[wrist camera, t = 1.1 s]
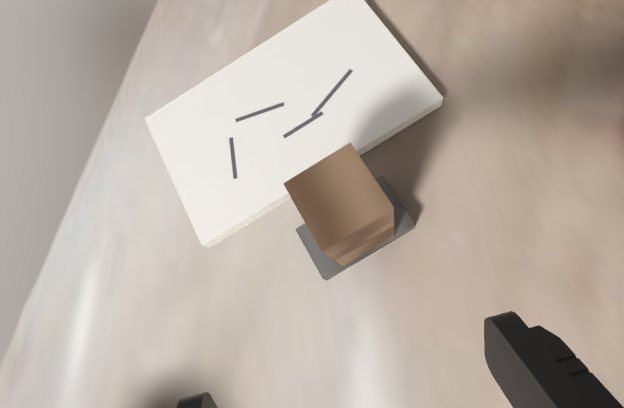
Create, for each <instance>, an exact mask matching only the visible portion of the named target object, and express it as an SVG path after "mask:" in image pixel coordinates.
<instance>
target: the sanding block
mask: <svg viewBox="0 0 624 408" xmlns="http://www.w3.org/2000/svg"><path fill="white" fill-rule="evenodd" d="M283 184H284V186H285V188H286V189H287V191H288V193H289V195H290V196H291V198H292V200H293V202H294V204H295V205H296V207H297V209H298V211H299V212H300V214H301V216H302V218H303V219H304V221H305V224H303V225H302V226H300V227H298V228H297V229H296V231H297V233H298V235H299V237H300V238H301V240H302V242H303V244H304V246H305V247H306V249H307V251H308V253H309V255H310V256H311V258H312V260H313V262H314V264H315V265H316V267H317V269H318V271H319V273H320V274H321V276H322V278H323V279H325V280H328V279H330V278H332V277H333V276H335V275H337V274H338V273H340V272H342V271H343V270H345V269H347V268H348V267H350V266H352V265H354V264H355V263H357V262H359V261H360V260H362V259H364V258H365V257H367V256H369V255H370V254H372V253H374V252H375V251H377V250H379V249H380V248H382V247H384V246H385V245H387V244H389V243H390V242H392V241H394V240H395V239H397V238H399V237H400V236H402V235H404V234H405V233H407V232H409V231H410V230H412V229H414V227H415V223H414V221H413V220H412V218H411V217H410V215H409V214H408V212H407V211H406V209H405V208H404V206H403V205H402V204H401V202H400V201H399V199H398V198H397V196H396V195H395V193H394V192H393V190H392V189H391V187H390V186H389V184H388V183H387V181H386V180H385V178H384V177H383V176H382V177H381V178H379V179H377V180H375V178H374V177H373V175H372V174H371V172H370V171H369V169H368V168H367V166H366V165H365V163H364V162H363V160H362V159H361V157H360V156H359V154H358V153H357V151H356V150H355V148H354V147H353V145H352V144H351V142H350V143H348V144H347V145H345V146H343V147H342V148H340V149H338V150H337V151H335V152H334V153H332V154H330V155H329V156H327V157H325V158H324V159H322V160H321V161H319V162H317V163H316V164H314V165H312V166H311V167H309V168H308V169H306V170H304V171H303V172H301V173H299V174H298V175H296V176H295V177H293V178H291V179H290V180H288V181H286V182H285V183H283Z"/></svg>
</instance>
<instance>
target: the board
mask: <svg viewBox="0 0 624 408" xmlns="http://www.w3.org/2000/svg"><path fill="white" fill-rule="evenodd" d="M442 101H443V97H442V96H441V94H440V93H439V92H438V91H437V89H436V88H435V87H434V86H433V84H432V83H431V82H430V81H429V80H428V78H427V77H426V76H425V75H424V73H423V72H422V71H421V70H420V68H419V67H418V66H417V65H416V63H415V62H414V61H413V60H412V59H411V57H410V56H409V55H408V54H407V52H406V51H405V50H404V49H403V47H402V46H401V45H400V44H399V43H398V41H397V40H396V39H395V38H394V36H393V35H392V34H391V33H390V31H389V30H388V29H387V28H386V26H385V25H384V24H383V23H382V22H381V20H380V19H379V18H378V17H377V15H376V14H375V13H374V12H373V10H372V9H371V8H370V7H369V5H368V4H367V3H366V2H365V1H364V0H329V1H328V2H326V3H325V4H323V5H321V6H320V7H318V8H317V9H315V10H314V11H312V12H310V13H309V14H307V15H306V16H304V17H303V18H301V19H300V20H298V21H296V22H295V23H293V24H292V25H290V26H289V27H287V28H285V29H284V30H282V31H281V32H279V33H278V34H276V35H274V36H273V37H271V38H270V39H268V40H267V41H265V42H264V43H262V44H260V45H259V46H257V47H256V48H254V49H253V50H251V51H249V52H248V53H246V54H245V55H243V56H242V57H240V58H238V59H237V60H235V61H234V62H232V63H231V64H229V65H228V66H226V67H224V68H223V69H221V70H220V71H218V72H217V73H215V74H213V75H212V76H210V77H209V78H207V79H206V80H204V81H202V82H201V83H199V84H198V85H196V86H195V87H193V88H192V89H190V90H188V91H187V92H185V93H184V94H182V95H181V96H179V97H177V98H176V99H174V100H173V101H171V102H170V103H168V104H166V105H165V106H163V107H162V108H160V109H159V110H157V111H156V112H154V113H152V114H151V115H149V116H148V117H146V118H145V121H146V123H147V126H148V128H149V130H150V132H151V134H152V137H153V139H154V141H155V143H156V145H157V148H158V150H159V152H160V154H161V156H162V159H163V161H164V163H165V165H166V167H167V170H168V172H169V174H170V176H171V178H172V181H173V183H174V185H175V187H176V189H177V192H178V194H179V196H180V198H181V200H182V203H183V205H184V207H185V209H186V211H187V214H188V216H189V218H190V220H191V222H192V225H193V227H194V229H195V231H196V233H197V236H198V238H199V240H200V242H201V244H202V246H205V247H208V248H210V247H212V246H214V245H215V244H217V243H218V242H220V241H222V240H223V239H225V238H227V237H228V236H230V235H232V234H233V233H235V232H236V231H238V230H240V229H241V228H243V227H245V226H246V225H248V224H249V223H251V222H253V221H254V220H256V219H258V218H259V217H261V216H263V215H264V214H266V213H267V212H269V211H271V210H272V209H274V208H276V207H277V206H279V205H280V204H282V203H284V202H285V201H287V200H289V199H290V198H291V196H290V195H289V193H288V191H287V189H286V188H285V186H284V184H283V183H285V182H286V181H288V180H290V179H291V178H293V177H295V176H296V175H298V174H299V173H301V172H303V171H304V170H306V169H308V168H309V167H311V166H312V165H314V164H316V163H317V162H319V161H321V160H322V159H324V158H325V157H327V156H329V155H330V154H332V153H334V152H335V151H337V150H338V149H340V148H342V147H343V146H345V145H347V144H348V143H350V142H351V144H352V145H353V147H354V148H355V150H356V151H357V153H358V154H359V156H360V155H362V154H364V153H365V152H367V151H369V150H370V149H372V148H374V147H375V146H377V145H378V144H380V143H382V142H383V141H385V140H387V139H388V138H390V137H391V136H393V135H395V134H396V133H398V132H400V131H401V130H403V129H405V128H406V127H408V126H409V125H411V124H413V123H414V122H416V121H418V120H419V119H421V118H422V117H424V116H426V115H427V114H429V113H431V112H432V111H434V110H436V109H437V108H439V107H440V106H441V105H442Z"/></svg>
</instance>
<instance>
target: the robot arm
mask: <svg viewBox="0 0 624 408" xmlns="http://www.w3.org/2000/svg"><path fill="white" fill-rule="evenodd" d="M484 342H485V358H486V362H487V364H488V367H489V369H490V371H491V373H492V375H493V377H494V378H495V380H496V382H497V383H498V385H499V386H500V388H501V389H502V391H503V392H504V394H505V396H506V397H507V399H508V400H509V402H510V403H511V405H512V407H513V408H624V407H623V406H622V405H621V404H620V403H619V402H618V401H617V400H616V399H615V398H614V397H613V395H612V394H611V393H610V392H609V391H608V390H607V389H606V388H605V387H604V386H603V385H602V383H601V382H600V381H599V380H598V379H597V378H596V377H595V376H594V375H593V374H592V373H590V372H589V370H588V368H587V367H586V366H585V365H584V364H583V363H582V362H581V360H580V359H579V358H576V356H575V354H574V353H573V352H572V351H571V350H570V348H569V347H568V346H567V345H566V344H565V343H564V342H563V341H562V340H561V339H560V338H559V337H557V336H556V335H554V334H553V333H551V332H549V331H548V330H546V329H544V328H543V327H541V326H535V327H532V328H528V326H527V325H526V324H525V323H524V322H523V321H522V319H521V318H520V317H519V316H518V315H517V314H516V313H515V312H512V311H510V312H507V313H503V314H499V315H495V316H492V317H488V318H485V321H484ZM177 408H217V406H216V404H215V402H214V401H213V399H212V397H211V395H210V394H209V393H208V392H206V393H202V394H198V395H195V396H191V397H187V398H184V399H181V400H180V401H179V402H178V405H177Z"/></svg>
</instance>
